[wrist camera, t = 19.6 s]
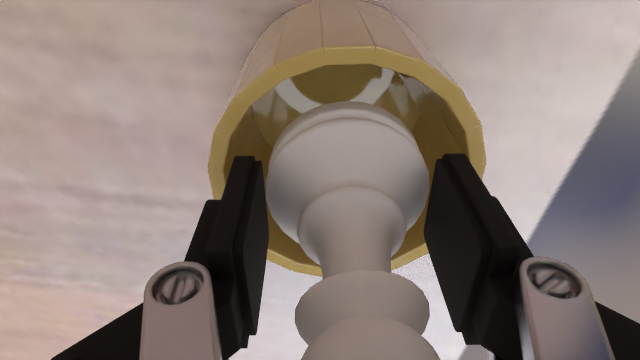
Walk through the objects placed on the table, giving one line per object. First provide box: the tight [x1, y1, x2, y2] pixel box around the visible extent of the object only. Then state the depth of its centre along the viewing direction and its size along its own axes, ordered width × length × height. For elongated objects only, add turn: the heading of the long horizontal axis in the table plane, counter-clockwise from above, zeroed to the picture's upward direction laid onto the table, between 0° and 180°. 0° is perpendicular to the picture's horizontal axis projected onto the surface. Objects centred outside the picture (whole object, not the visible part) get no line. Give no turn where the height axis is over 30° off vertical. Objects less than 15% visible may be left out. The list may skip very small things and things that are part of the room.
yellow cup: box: [208, 0, 486, 277], centre depth 16 cm, size 9×9×7 cm
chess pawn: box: [266, 101, 440, 360], centre depth 10 cm, size 5×5×9 cm
